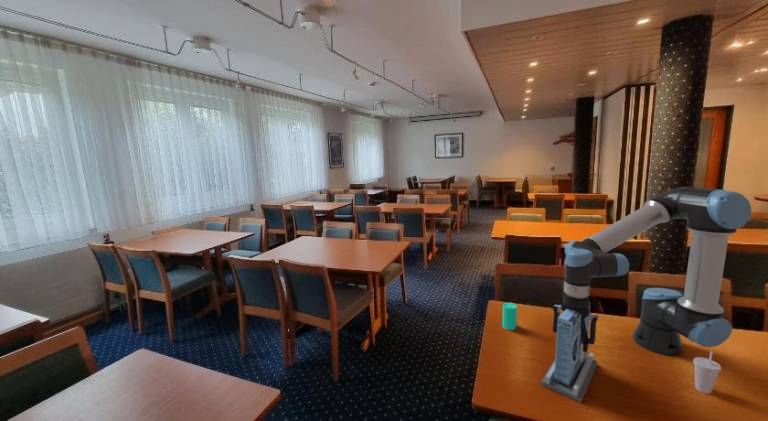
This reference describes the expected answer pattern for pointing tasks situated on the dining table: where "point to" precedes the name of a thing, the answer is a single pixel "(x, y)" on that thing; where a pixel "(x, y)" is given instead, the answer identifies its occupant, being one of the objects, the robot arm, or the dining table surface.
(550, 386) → the door track
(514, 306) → the candle
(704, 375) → the smoothie
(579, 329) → the gum box
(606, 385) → the dining table surface
